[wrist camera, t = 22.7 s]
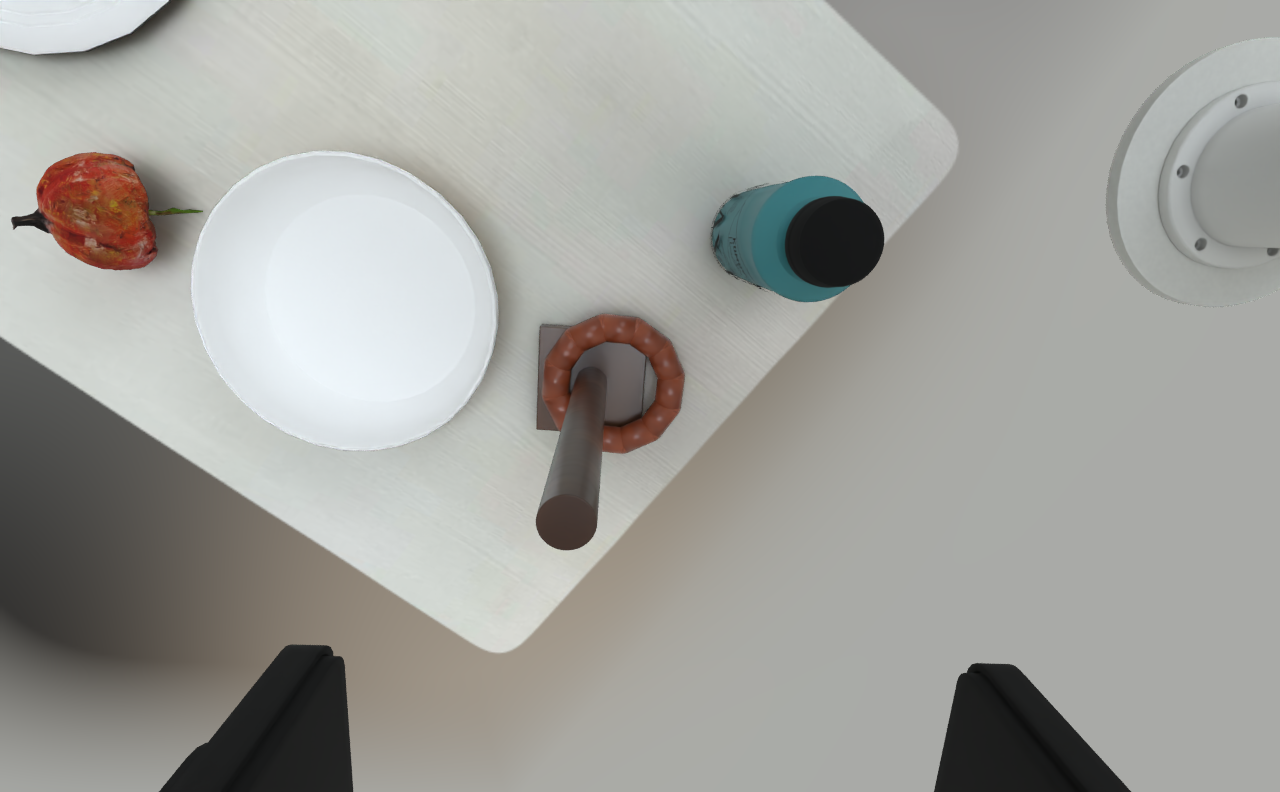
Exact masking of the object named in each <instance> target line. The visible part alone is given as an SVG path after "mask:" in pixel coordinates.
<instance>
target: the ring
mask: <svg viewBox="0 0 1280 792" xmlns="http://www.w3.org/2000/svg"><path fill="white" fill-rule="evenodd" d="M605 342H612V343H622V344H630V345H631V346H633V347H634V348H635V349H637V350H638V351H639V352H641V353H642V354H644V355H645V356H646V357H648V358H649V360H650V363H651V365H652V367H653V369H654V372H655V374H656V376H657V387H656V395H655V401H654V402H653V403H652V405H651V406H650V407H649V409H648V410H647V411H646V413H645V414H644V415H643V417H642V418H640V419H638V420H635V421H633V422H631V423H629V424H626V425H624V426H622V427H616V426H605V425H604V434H603V448H602V452H610V453H621V454H624V453H628V452H630V451H633V450H635V449H637V448H640V447H642V446H644V445H647V444H649V443H651V442H654V441H656V440H657V439H659V438H660V437H661V435H662V434H663V433H664V431H665V430H666V429H667V428H668V426H669V425H670V424H671V422H672V421H673V420H674V418H675V417H676V416H677V415H678V413H679V412H680V409H681V403H682V395H683V387H684V380H685V373H684V370H683V368H682V366H681V363H680V361H679V359H678V356H677V354H676V352H675V349H674V347H673V345H672V343H671V341H670V340H669V339H668V338H667V337H666V336H664V335H663V334H661V333H660V332H659V331H657V330H656V329H655V328H653V327H652V326H651V325H649V324H648V323H646V322H645V321H644V320H642V319H640V318H638V317H630V316H620V315H611V314H599V315H597V316H595V317H592V318H590V319H588V320H586V321H583V322H581V323H579V324H577V325H574V326H572V327H570V328H568V329H567V330H566V331H565V332H564V333H563V334H562V336H561V337H560V339H559V340H558V341H557V343H556V344H555V346H554V347H553V348H552V350H551V351H550V353H549V354H548V356H547V357H546V359H545V361H544V371H543V385H542V399H543V401H544V403H545V405H546V407H547V409H548V411H549V413H550V415H551V417H552V419H553V421H554V423H555V425H556V427H557V429H558V430H559V431H560V432H561V428H562V425H563V421H564V418H565V414H566V411H567V407H568V404H569V400H570V397H571V394H570V392H569V389H570V377H571V369H572V368H573V367H574V365H575V364H576V362H577V361H578V360H579V358H580V357H581V355H582V354H583V353H584V351H586V350H589V349H591V348H593V347H595V346H598V345H600V344H602V343H605Z"/></svg>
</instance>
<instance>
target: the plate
mask: <svg viewBox="0 0 1280 792" xmlns="http://www.w3.org/2000/svg"><path fill="white" fill-rule="evenodd" d="M170 2H171V0H0V48H4V49H9V50H13V51H18V52H23V53H28V54H33V55H45V54H59V53H73V52H87V51H90V50H92V49H95V48H97V47H100V46H102V45H105V44H107V43H110V42H112V41H115V40H117V39H120V38H123V37H125V36H128V35H130V34H133V33H134V32H135V31H136V30H137V29H139V28H140V27H141V26H142V25H143V24H145V23H146V22H147V21H148V20H149V19H151V18H152V17H153V16H154V15H155V14H156V13H158V12H159V11H160V10H161V9H162V8H164V7H165V6H166V5H167V4H168V3H170Z"/></svg>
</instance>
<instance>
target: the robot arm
mask: <svg viewBox="0 0 1280 792" xmlns="http://www.w3.org/2000/svg"><path fill="white" fill-rule="evenodd" d="M1158 198H1159V212H1160V216H1161V219H1162V223H1163V227H1164V229H1165V231H1166V233H1167V235H1168V237H1169V238H1170V240H1171V241H1172V243H1173V244H1174V245H1175V246H1176V247H1177V248H1178V250H1179V251H1180V252H1182V253H1183V254H1184V255H1186V256H1187V257H1188V258H1190V259H1191V260H1193V261H1196V262H1198V263H1201V264H1203V265H1206V266H1212V267H1217V268H1233V269H1240V268H1248V267H1254V266H1258V265H1261V264H1264V263H1267V262H1270V261H1272V260H1274V259H1276V258H1278V257H1280V81H1266V82H1261V83H1256V84H1251V85H1247V86H1244V87H1241V88H1238V89H1235V90H1232V91H1229V92H1227V93H1226V94H1224V95H1222V96H1220V97H1218V98H1216V99H1214V100H1213V101H1212V102H1210V103H1209V104H1208V105H1207V106H1205V107H1204V108H1203V109H1201V110H1200V111H1199V112H1198V113H1197V114H1196V115H1195V116H1194V117H1193V118H1192V119H1191V120H1190V121H1189V122H1188V123H1187V124H1186V125H1185V127H1184V128H1183V130H1182V131H1181V133H1180V134H1179V135H1178V137H1177V138H1176V140H1175V141H1174V143H1173V145H1172V147H1171V149H1170V151H1169V153H1168V155H1167V157H1166V160H1165V163H1164V167H1163V170H1162V173H1161V177H1160V184H1159V192H1158ZM346 694H347V693H346V678H345V665H344V660H343V658H342V657H340V656H333V651H332V649H331V647H329V646H324V645H288V646H286V647H285V648H284V649H283V650H282V651H281V652H280V653H279V654H278V656H277V657H276V658H275V659H274V661H273V662H272V663H271V664H270V666H269V667H268V668H267V669H266V671H265V672H264V673H263V674H262V676H261V677H260V678H259V679H258V681H257V682H256V683H255V684H254V686H253V687H252V688H251V689H250V691H249V692H248V693H247V694H246V696H245V697H244V698H243V699H242V701H241V702H240V703H239V705H238V706H237V707H236V708H235V709H234V711H233V712H232V713H231V714H230V716H229V717H228V718H227V719H226V721H225V722H224V723H223V724H222V726H221V727H220V728H219V729H218V731H217V732H216V733H215V734H214V736H213V737H212V738H211V739H210V741H209V742H208V743H205V744H203V745H201V746H199V747H197V748H196V749H195V750H194V751H193V752H192V753H191V754H190V755H189V756H188V757H187V758H186V759H185V761H184V762H183V763H182V764H181V766H180V767H179V768H178V769H177V770H176V772H175V773H174V774H173V775H172V777H171V778H170V779H169V780H168V781H167V783H166V784H165V785H164V786H163V788H162V789H161V790H160V791H159V792H353V781H352V766H351V752H350V737H349V722H348V708H347V695H346ZM934 792H1131V791H1130V790H1129V789H1128V788H1127V787H1126V786H1125V785H1124V783H1122V781H1121V780H1120V779H1119V778H1118V777H1117V776H1116V775H1115V774H1114V772H1113V771H1112V770H1111V769H1110V768H1109V767H1108V766H1107V765H1106V764H1105V763H1104V761H1103V760H1102V759H1101V758H1100V757H1099V756H1098V755H1097V754H1096V753H1095V752H1094V751H1093V750H1092V748H1091V747H1090V746H1089V745H1088V744H1087V743H1086V742H1085V741H1084V740H1083V739H1082V737H1081V736H1080V735H1079V734H1078V733H1077V732H1076V731H1075V730H1074V729H1073V728H1072V726H1071V725H1070V724H1069V723H1068V722H1067V721H1066V720H1065V719H1064V718H1063V717H1062V715H1061V714H1060V713H1059V712H1058V711H1057V710H1056V709H1055V708H1054V707H1053V706H1052V705H1051V704H1050V702H1048V700H1047V699H1046V698H1045V697H1044V696H1043V695H1042V694H1041V693H1040V691H1039V690H1038V689H1037V688H1036V687H1035V686H1034V685H1033V684H1032V683H1031V682H1030V680H1028V678H1027V677H1026V676H1025V675H1024V674H1023V673H1022V672H1021V671H1020V670H1019V669H1018V668H1017V667H1016V666H1014V665H1010V664H982V663H976V664H972V665H971V666H970V667H969V668H968V671H967V673H963V674H961V675H960V676H959V678H958V681H957V685H956V690H955V695H954V699H953V704H952V709H951V714H950V718H949V724H948V728H947V733H946V738H945V742H944V747H943V752H942V757H941V761H940V766H939V771H938V775H937V781H936V785H935V790H934Z"/></svg>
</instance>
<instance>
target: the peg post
mask: <svg viewBox="0 0 1280 792" xmlns="http://www.w3.org/2000/svg"><path fill="white" fill-rule="evenodd" d="M570 327H572V326H563V325H548V324H542V325H541V326H540V336H539V367H538V398H537V430H554V431H559V430H558V429H557V427H556V425H555V423H554V421H553V419H552V417H551V415H550V413H549V411H548V409H547V407H546V405H545V403H544V401H543V399H542V385H543V371H544V361H545V359H546V357H547V356H548V354H549V353H550V351H551V350H552V348H553V347H554V346H555V344H556V343H557V341H558V340H559V339H560V337H561V336H562V334H563V333H564V332H565V331H566V330H567V329H568V328H570ZM645 365H646V356H645V355H644V354H642V353H641V352H639V351H638V350H637V349H635V348H634V347H633V346H631V345H630V344H622V343H612V342H605V343H602V344H600V345H598V346H595V347H593V348H591V349H589V350H586V351H584V353H583V354H582V355H581V357H580V358H579V360H578V361H577V362H576V364H575V365H574V367H573V368H572V369H571V377H570V389H569V392H570V394H571V397H570V400H569V404H568V407H567V411H566V414H565V418H564V421H563V425H562V428H561V432H560V435H559V439H558V442H557V446H556V449H555V453H554V456H553V460H552V464H551V467H550V471H549V474H548V478H547V481H546V485H545V488H544V492H543V495H542V499H541V502H540V506H539V509H538V513H537V516H536V527H537V531H538V533H539V535H540V536H541V538H542V539H543V540H544V541H545V542H546V543H547V544H548V545H550V546H552V547H554V548H556V549H560V550H574V549H577V548H580V547H582V546H584V545H585V544H587V543H588V542H589V541H590V540H591V539H592V537H593V536H594V534H595V531H596V528H597V519H598V504H599V490H600V476H601V462H602V448H603V434H604V425H605V426H616V427H622V426H624V425H626V424H629V423H631V422H633V421H635V420H638V419H640V418H642V405H643V391H644V378H645Z"/></svg>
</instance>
